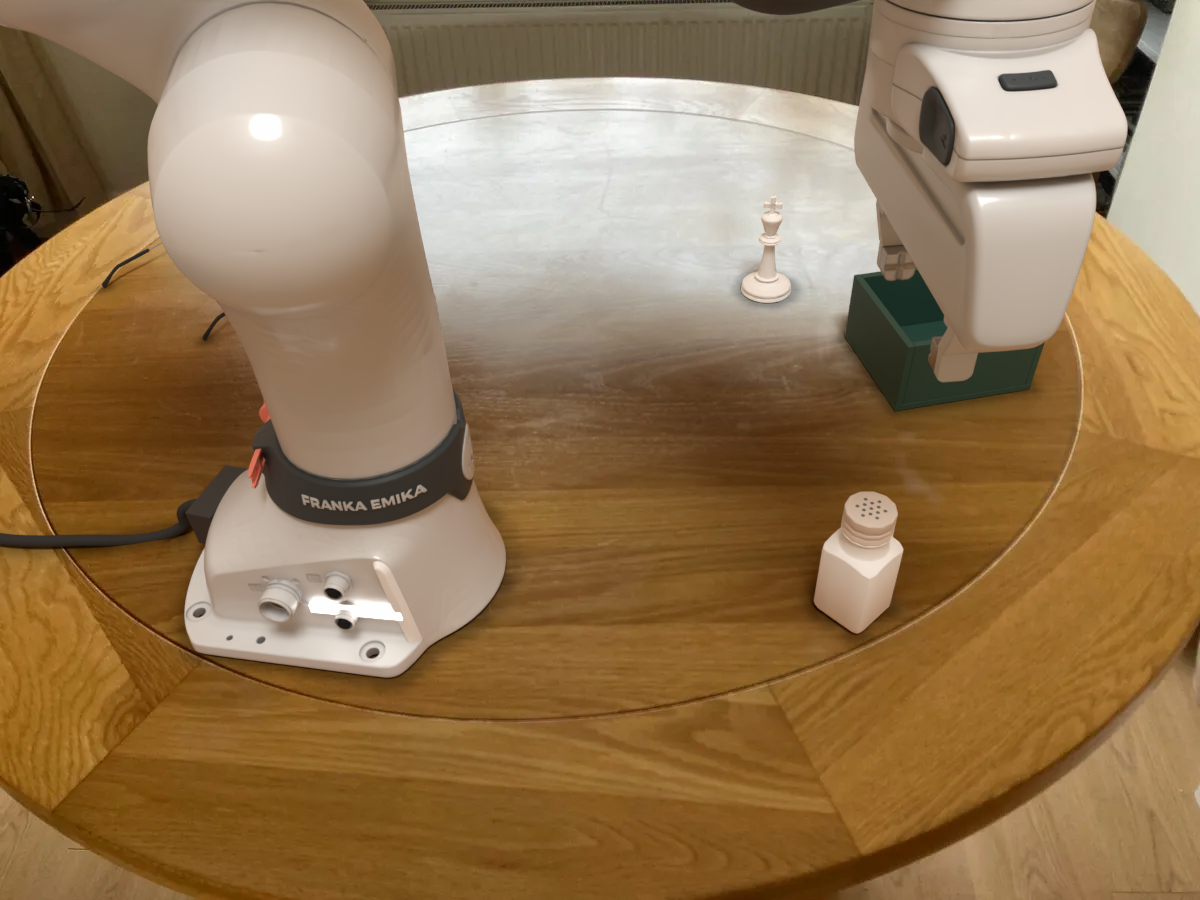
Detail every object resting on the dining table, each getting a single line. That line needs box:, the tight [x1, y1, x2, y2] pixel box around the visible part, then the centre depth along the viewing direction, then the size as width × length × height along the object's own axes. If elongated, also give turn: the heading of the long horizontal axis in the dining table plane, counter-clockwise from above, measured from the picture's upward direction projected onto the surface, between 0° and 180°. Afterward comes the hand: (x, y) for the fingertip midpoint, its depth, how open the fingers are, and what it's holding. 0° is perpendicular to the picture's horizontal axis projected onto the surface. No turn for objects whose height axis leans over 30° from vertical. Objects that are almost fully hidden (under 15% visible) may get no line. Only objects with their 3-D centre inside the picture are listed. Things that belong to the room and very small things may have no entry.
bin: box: [844, 266, 1046, 412], centre depth 83 cm, size 12×11×7 cm
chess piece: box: [740, 195, 792, 304], centre depth 92 cm, size 5×5×10 cm
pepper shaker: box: [813, 491, 904, 635], centre depth 62 cm, size 4×4×10 cm
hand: (919, 320), depth 51 cm, fingers open, 8 cm apart
